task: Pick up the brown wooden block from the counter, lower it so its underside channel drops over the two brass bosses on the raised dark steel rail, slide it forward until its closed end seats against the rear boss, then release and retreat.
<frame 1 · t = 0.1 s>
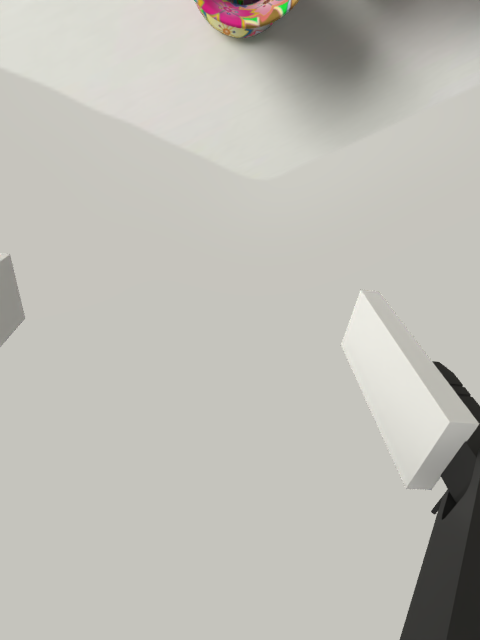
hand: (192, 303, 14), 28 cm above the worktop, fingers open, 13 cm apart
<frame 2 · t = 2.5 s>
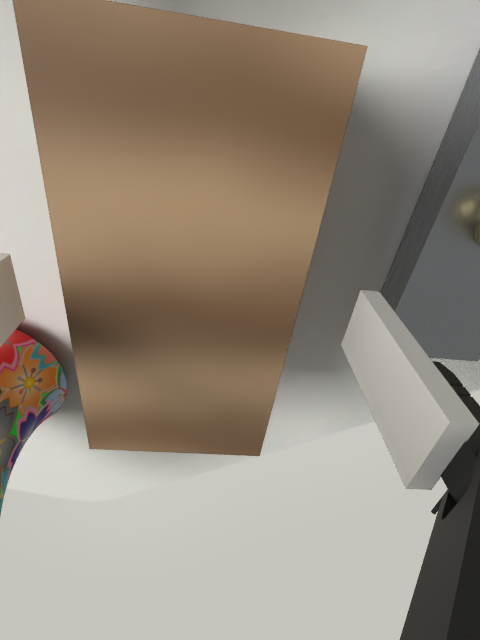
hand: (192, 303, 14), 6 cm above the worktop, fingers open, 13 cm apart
brown wooden block: (195, 237, 18), on the worktop
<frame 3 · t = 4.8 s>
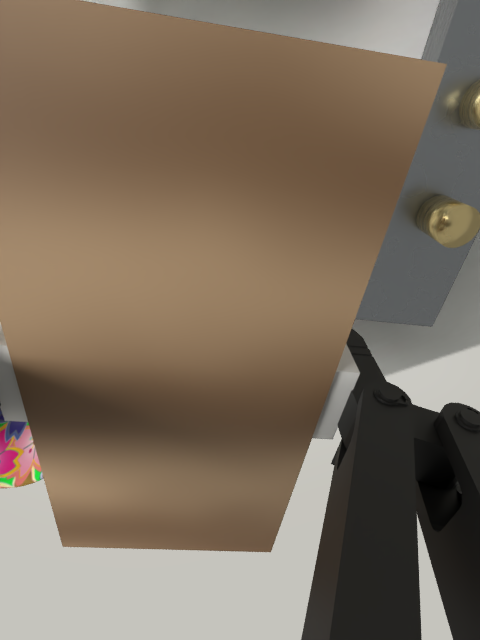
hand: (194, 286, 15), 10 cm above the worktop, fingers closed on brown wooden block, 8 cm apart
mount rail: (439, 158, 22), on the worktop
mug: (38, 328, 28), on the worktop
brown wooden block: (195, 284, 15), point 10 cm above the worktop, touching gripper
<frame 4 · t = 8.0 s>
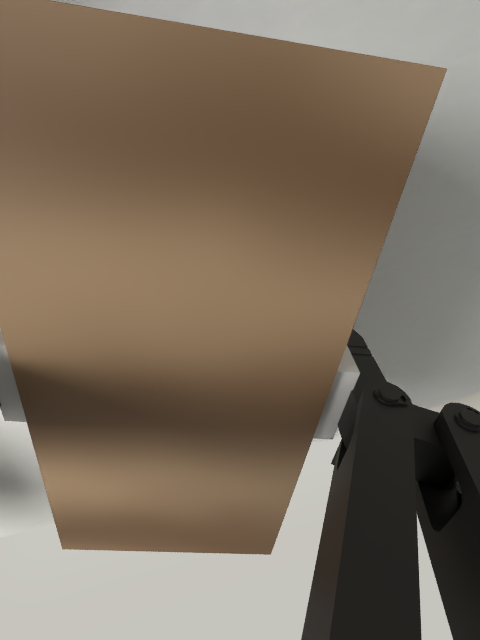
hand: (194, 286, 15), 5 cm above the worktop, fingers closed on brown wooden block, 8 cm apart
brown wooden block: (195, 286, 15), point 4 cm above the worktop, touching gripper
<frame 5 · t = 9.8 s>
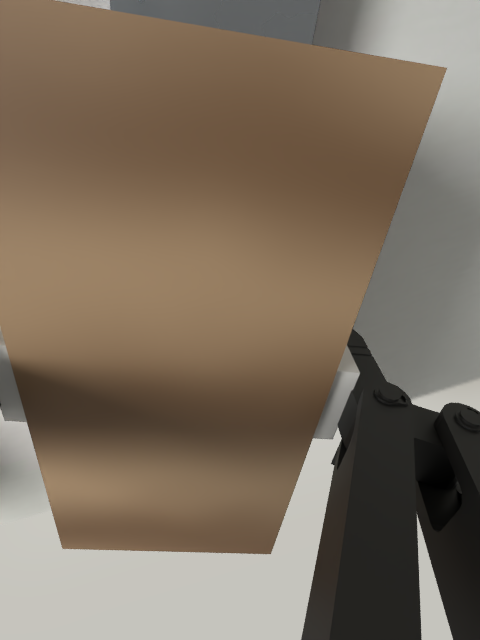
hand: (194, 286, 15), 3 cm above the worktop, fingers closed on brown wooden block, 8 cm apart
mount rail: (201, 221, 17), on the worktop
brown wooden block: (195, 286, 15), point 3 cm above the worktop, touching gripper
when the fingers open (3 cm above the worktop, at t = 11.3 s): brown wooden block stays where it is, resting on mount rail.
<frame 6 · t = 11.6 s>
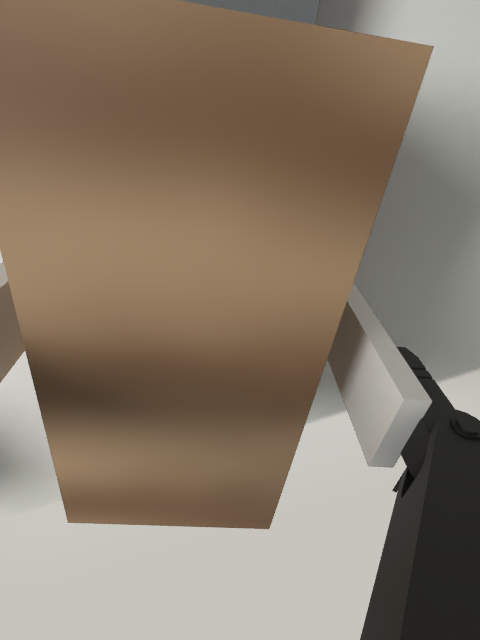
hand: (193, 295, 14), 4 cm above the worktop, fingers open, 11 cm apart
mount rail: (203, 200, 16), on the worktop
brown wooden block: (196, 270, 16), point 2 cm above the worktop, touching mount rail
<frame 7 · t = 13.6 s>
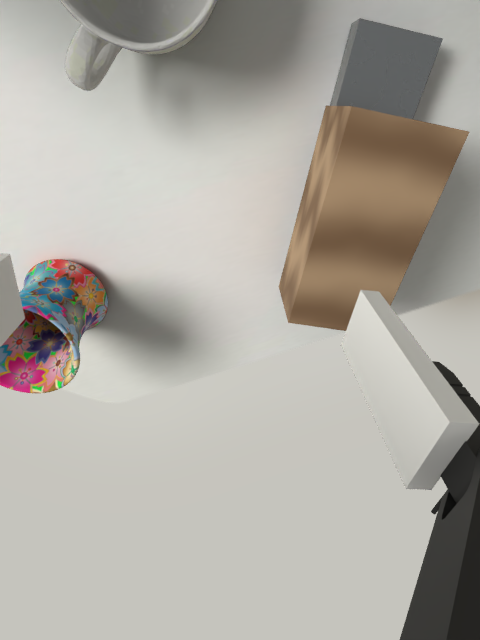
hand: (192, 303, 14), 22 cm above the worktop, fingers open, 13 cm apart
mount rail: (344, 182, 33), on the worktop
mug: (57, 290, 38), on the worktop
brown wooden block: (341, 215, 32), point 2 cm above the worktop, touching mount rail
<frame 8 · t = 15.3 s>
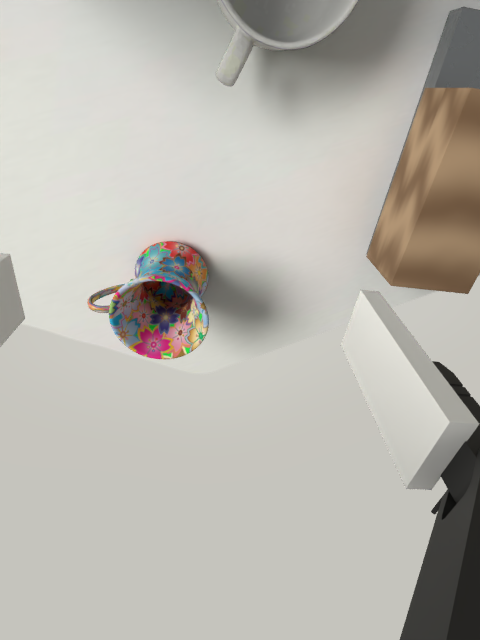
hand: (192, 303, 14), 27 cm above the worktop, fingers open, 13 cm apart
mount rail: (430, 157, 36), on the worktop
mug: (161, 271, 42), on the worktop
brown wooden block: (429, 187, 36), point 2 cm above the worktop, touching mount rail
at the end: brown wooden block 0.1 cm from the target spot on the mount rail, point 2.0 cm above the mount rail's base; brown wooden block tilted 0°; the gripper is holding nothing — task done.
